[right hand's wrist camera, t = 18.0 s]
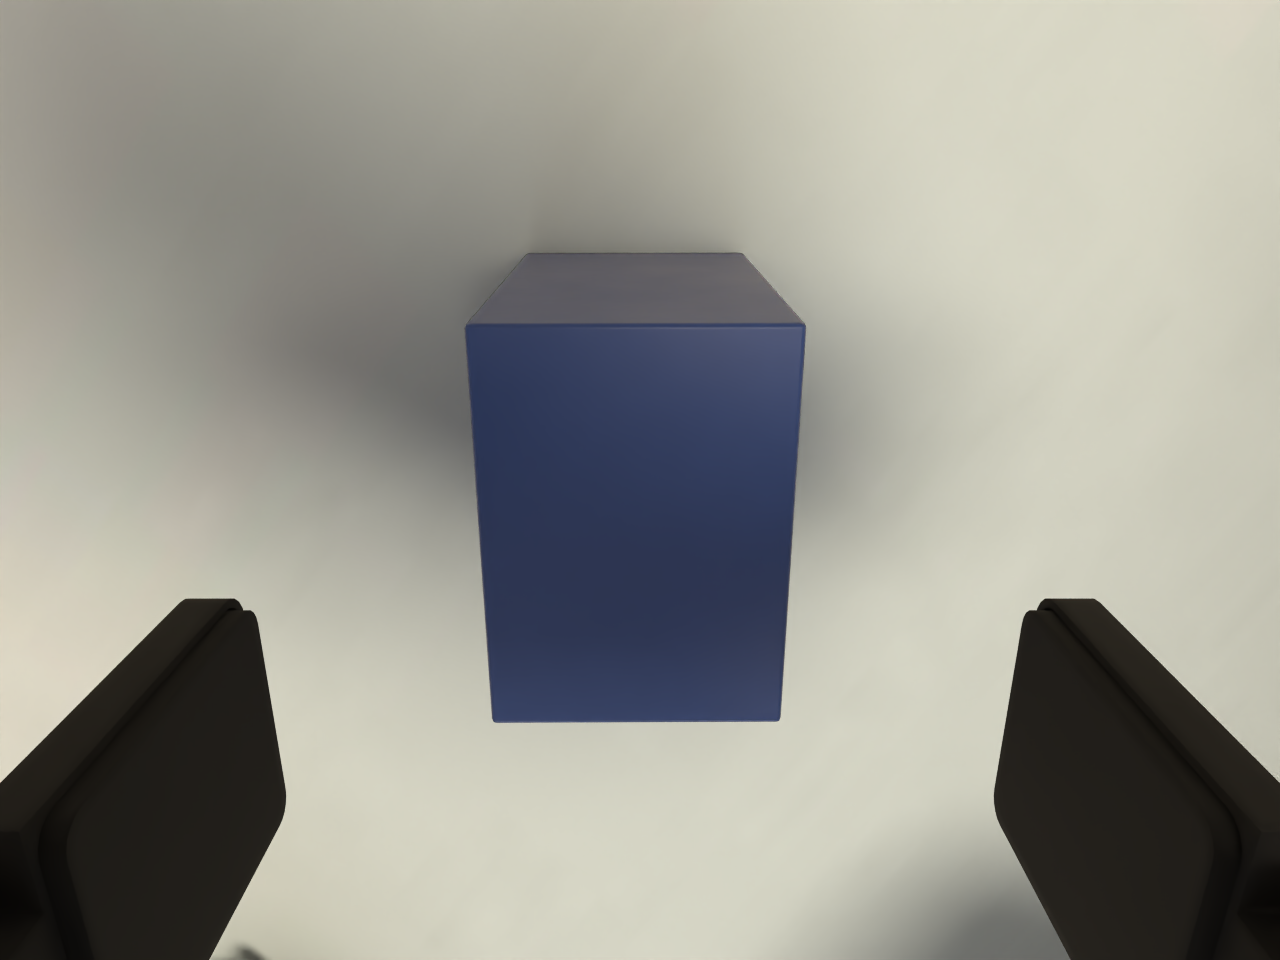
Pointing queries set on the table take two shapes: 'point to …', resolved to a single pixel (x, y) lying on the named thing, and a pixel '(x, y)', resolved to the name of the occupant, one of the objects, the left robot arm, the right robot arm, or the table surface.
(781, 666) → the block
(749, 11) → the table surface
